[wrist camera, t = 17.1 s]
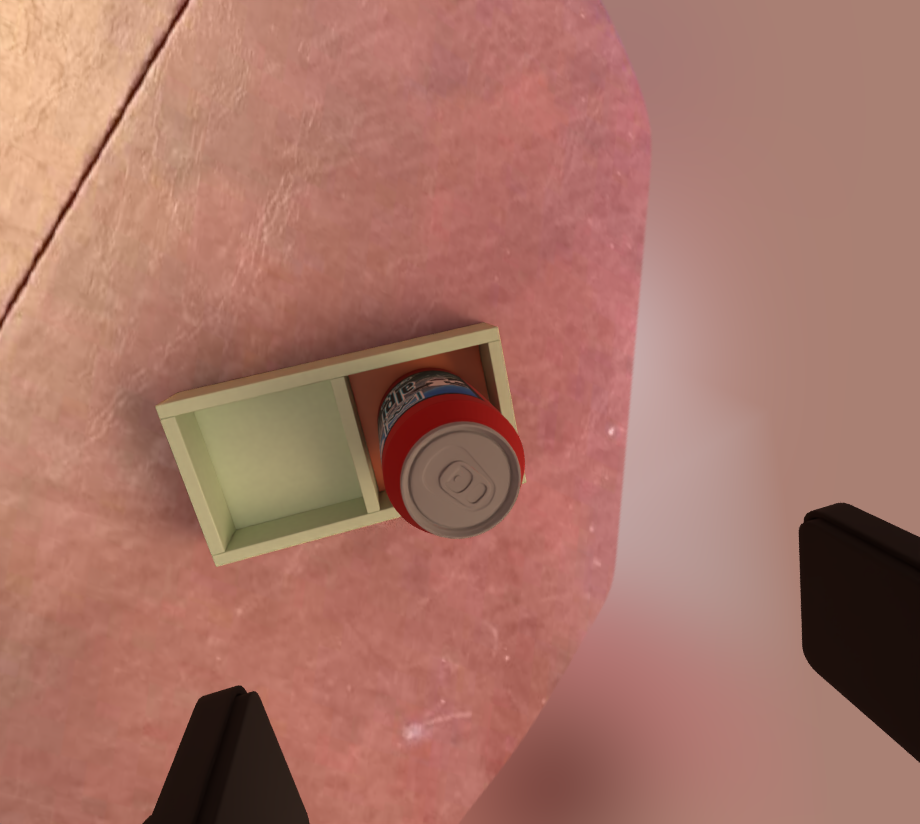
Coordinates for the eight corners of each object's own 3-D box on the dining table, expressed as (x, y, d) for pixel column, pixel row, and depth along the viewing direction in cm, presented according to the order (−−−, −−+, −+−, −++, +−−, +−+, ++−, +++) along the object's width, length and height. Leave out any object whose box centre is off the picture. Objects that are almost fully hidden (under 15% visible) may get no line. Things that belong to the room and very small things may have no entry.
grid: (511, 464, 37) (526, 482, 33) (230, 539, 34) (215, 567, 31) (484, 322, 34) (498, 326, 31) (176, 392, 32) (154, 406, 28)
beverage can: (422, 343, 33) (455, 375, 21) (499, 408, 35) (566, 470, 23) (354, 423, 33) (350, 497, 22) (433, 483, 35) (468, 580, 24)
